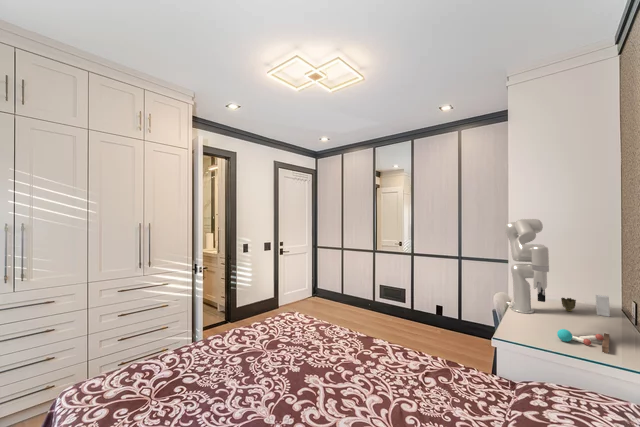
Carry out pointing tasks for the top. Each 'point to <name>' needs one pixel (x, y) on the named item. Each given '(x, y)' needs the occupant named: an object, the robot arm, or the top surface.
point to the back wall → (605, 343)
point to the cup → (568, 304)
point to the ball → (564, 335)
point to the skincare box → (602, 305)
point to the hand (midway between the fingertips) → (541, 301)
